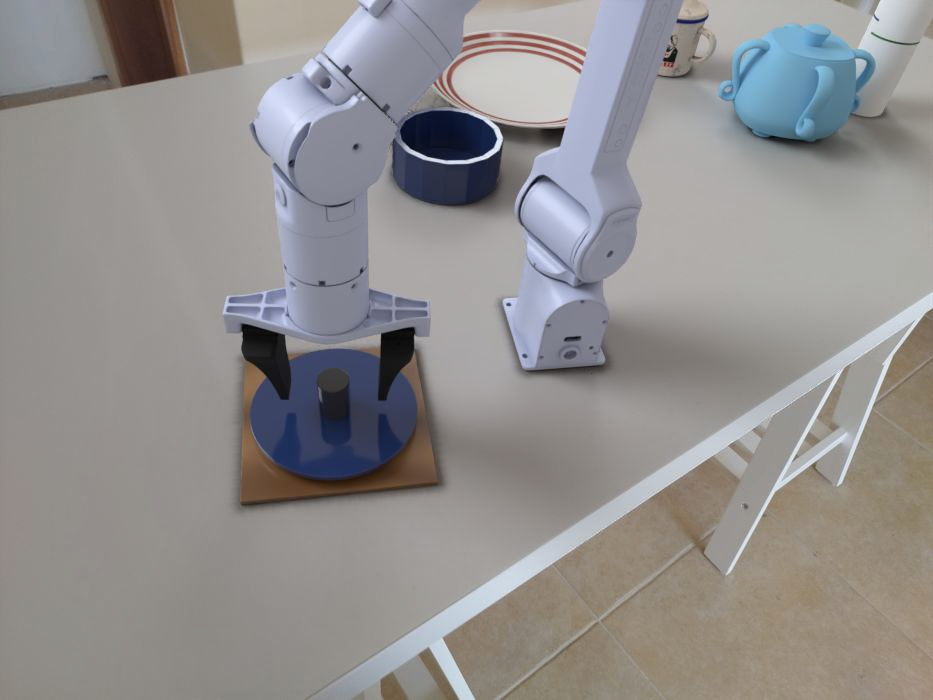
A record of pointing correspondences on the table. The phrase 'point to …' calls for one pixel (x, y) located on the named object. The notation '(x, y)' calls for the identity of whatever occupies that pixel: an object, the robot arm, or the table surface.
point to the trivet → (277, 484)
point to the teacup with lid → (687, 39)
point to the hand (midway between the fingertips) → (334, 390)
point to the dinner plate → (514, 78)
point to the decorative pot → (796, 82)
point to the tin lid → (333, 416)
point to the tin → (446, 155)
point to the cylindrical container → (890, 49)
